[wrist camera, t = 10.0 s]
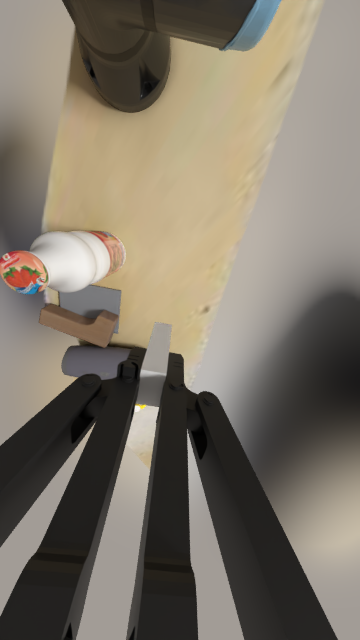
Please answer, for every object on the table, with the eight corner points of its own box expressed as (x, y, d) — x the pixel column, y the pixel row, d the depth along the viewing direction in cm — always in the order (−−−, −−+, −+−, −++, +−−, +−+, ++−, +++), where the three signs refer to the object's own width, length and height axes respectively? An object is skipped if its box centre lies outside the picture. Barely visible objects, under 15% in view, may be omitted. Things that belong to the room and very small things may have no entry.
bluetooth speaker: (81, 362, 61) (63, 384, 52) (77, 336, 57) (57, 356, 48) (152, 367, 62) (147, 391, 52) (153, 343, 58) (148, 363, 49)
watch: (148, 392, 66) (146, 406, 61) (147, 398, 67) (145, 412, 62) (131, 390, 65) (127, 404, 60) (130, 396, 66) (126, 410, 61)
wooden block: (119, 315, 53) (54, 288, 50) (114, 322, 49) (43, 293, 46) (110, 340, 57) (48, 316, 54) (105, 348, 52) (37, 323, 49)
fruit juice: (103, 278, 50) (20, 324, 24) (80, 243, 46) (-45, 254, 21) (134, 261, 48) (79, 292, 22) (112, 224, 44) (19, 210, 19)
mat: (59, 278, 50) (58, 279, 49) (121, 290, 51) (120, 291, 50) (62, 322, 55) (61, 323, 54) (118, 332, 56) (117, 333, 56)
